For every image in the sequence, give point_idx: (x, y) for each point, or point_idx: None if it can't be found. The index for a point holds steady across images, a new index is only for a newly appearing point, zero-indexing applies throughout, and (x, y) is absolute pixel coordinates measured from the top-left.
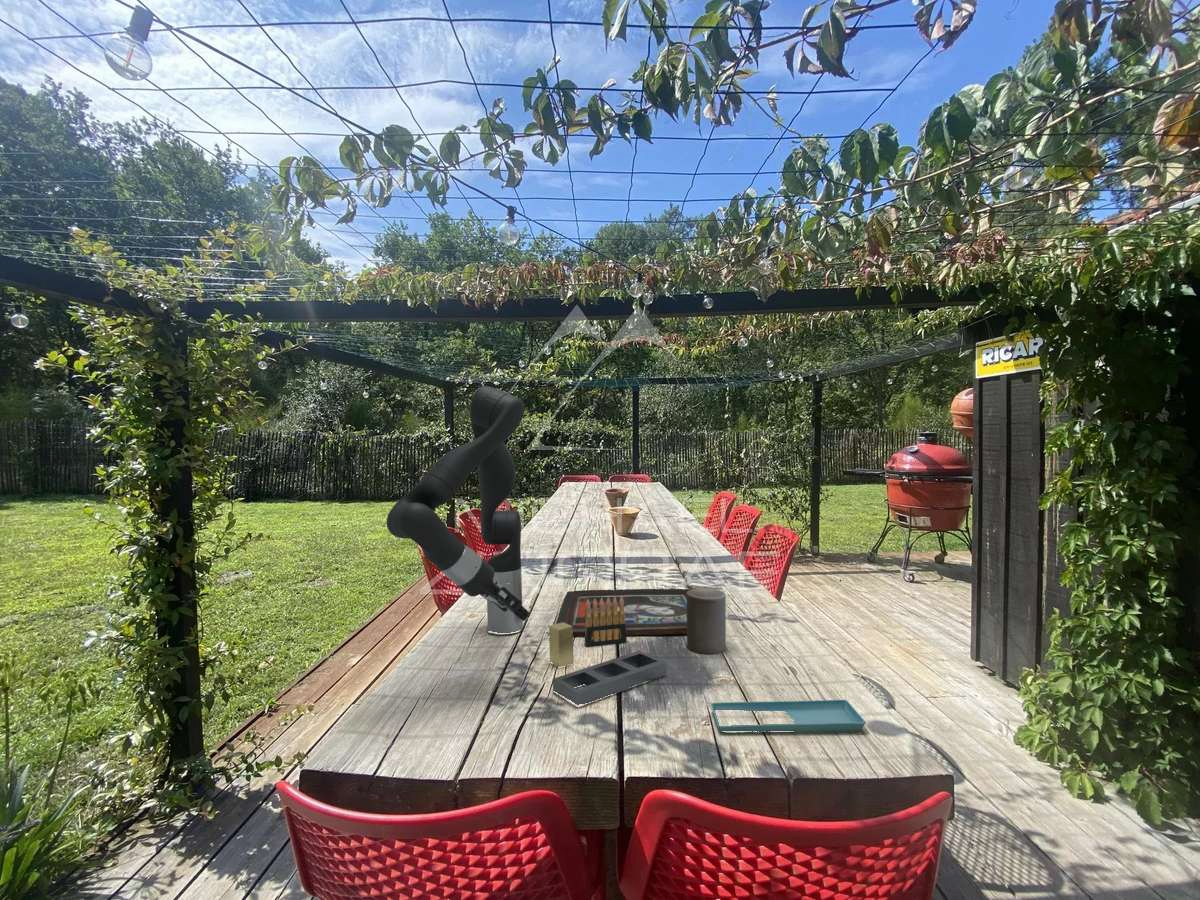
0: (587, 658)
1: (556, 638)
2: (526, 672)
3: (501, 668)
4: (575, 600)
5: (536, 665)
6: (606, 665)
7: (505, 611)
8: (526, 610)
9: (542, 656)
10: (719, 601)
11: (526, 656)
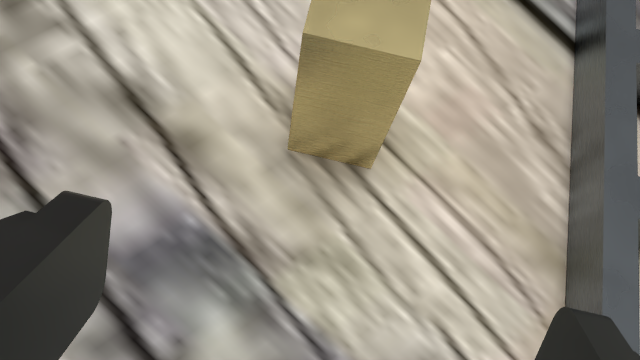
0: None
1: (383, 89)
2: (270, 295)
3: (109, 343)
4: None
5: (247, 202)
6: (633, 98)
7: (99, 293)
8: (626, 352)
9: (190, 107)
10: None
11: (115, 150)
